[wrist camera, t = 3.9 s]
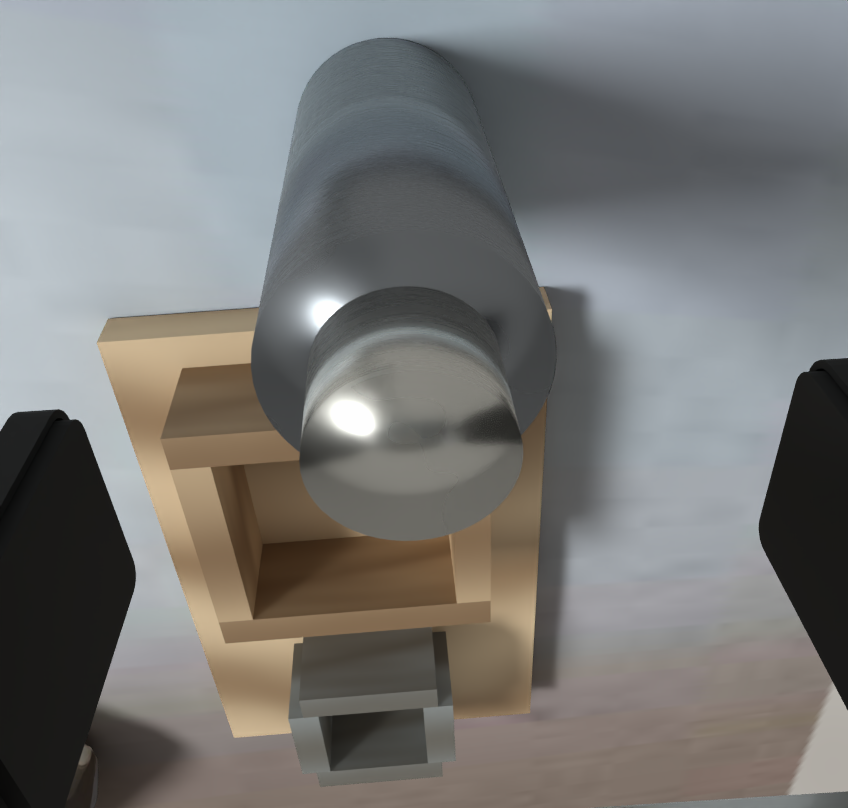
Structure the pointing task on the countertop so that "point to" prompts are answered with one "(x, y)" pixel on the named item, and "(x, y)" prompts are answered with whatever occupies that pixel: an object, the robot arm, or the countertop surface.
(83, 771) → the black sponge
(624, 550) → the countertop surface
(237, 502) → the holder
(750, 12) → the countertop surface
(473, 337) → the bottle
